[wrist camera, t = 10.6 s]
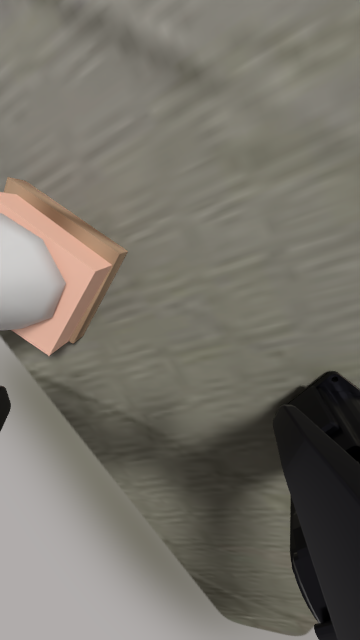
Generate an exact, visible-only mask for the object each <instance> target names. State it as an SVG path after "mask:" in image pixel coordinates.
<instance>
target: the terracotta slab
mask: <svg viewBox="0 0 360 640" xmlns="http://www.w3.org/2000/svg"><path fill="white" fill-rule="evenodd" d="M0 213H2V214H4V215H5V216H7V217H8V218H10V219H12V220H13V221H15V222H16V223H18V224H19V225H21V226H23V227H24V228H26V229H27V230H29V231H30V232H32V233H33V234H35V235H37V236H38V237H40V238H41V239H43V241H44V243H45V245H46V247H47V248H48V250H49V252H50V254H51V256H52V258H53V260H54V262H55V263H56V265H57V267H58V269H59V271H60V273H61V275H62V277H63V278H64V280H65V282H66V284H65V287H64V289H63V292H62V294H61V297H60V299H59V302H58V304H57V307H56V309H55V312H54V314H53V317H52V318H49V319H46V320H44V321H41V322H38V323H36V324H33V325H30V326H28V327H25V328H22V329H13V330H12V331H13V332H15V333H16V334H18V335H19V336H21V337H22V338H24V339H25V340H27V341H28V342H30V343H31V344H32V345H34V346H35V347H37V348H38V349H40V350H41V351H43V352H44V353H46V354H47V355H49V356H50V355H51V354H52V353H54V352H55V351H56V350H58V349H59V348H60V347H61V346H63V345H64V344H65V343H67V342H68V341H69V340H70V338H71V336H72V334H73V333H74V331H75V329H76V327H77V326H78V324H79V322H80V320H81V319H82V317H83V315H84V313H85V312H86V310H87V308H88V307H89V305H90V303H91V301H92V300H93V298H94V296H95V294H96V293H97V291H98V289H99V287H100V286H101V284H102V282H103V280H104V279H105V277H106V275H107V274H108V272H109V270H110V268H111V267H112V265H111V264H110V263H109V262H107V261H106V260H105V259H103V258H102V257H101V256H99V255H98V254H97V253H95V252H94V251H92V250H91V249H90V248H88V247H87V246H86V245H84V244H83V243H82V242H80V241H79V240H78V239H76V238H75V237H74V236H72V235H71V234H69V233H68V232H67V231H65V230H64V229H63V228H61V227H60V226H59V225H57V224H56V223H55V222H53V221H52V220H51V219H49V218H48V217H46V216H45V215H44V214H42V213H41V212H40V211H38V210H37V209H36V208H34V207H33V206H32V205H30V204H29V203H28V202H26V201H25V200H23V199H22V198H21V197H19V196H18V195H17V194H10V193H3V192H0Z"/></svg>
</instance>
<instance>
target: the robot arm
mask: <svg viewBox="0 0 360 640" xmlns="http://www.w3.org/2000/svg"><path fill="white" fill-rule="evenodd" d="M333 377H336V378H335V379H332V378H333ZM10 407H11V403H10V400H9V397H8V394H7V391H6V388H5V387H4V386H0V431H1V429H2V427H3V424H4V422H5V420H6V418H7V416H8V414H9V411H10ZM273 428H274V433H275V437H276V442H277V446H278V450H279V455H280V459H281V464H282V468H283V472H284V475H285V479H286V482H287V485H288V488H289V491H290V494H291V520H290V555H291V562H292V569H293V572H294V574H295V578H296V581H297V584H298V586H299V589H300V591H301V593H302V596H303V598H304V600H305V602H306V604H307V606H308V608H309V609H310V611H311V612H312V614H313V616H314V617H315V619H316V620H317V621H318V624H315V625H314V630H315V633H316V635H317V637H318V639H319V640H360V389H359V388H357V387H356V386H355V385H353V384H352V383H351V382H350V381H348V380H347V379H346V378H344V377H343V376H342V375H341V374H339V373H338V372H336V371H332V372H329V373H327V374H326V375H325V376H324V377H322V378H321V379H320V380H318V381H317V382H316V383H315V384H313V385H312V386H311V387H309V388H308V389H307V390H305V391H304V392H303V393H302V394H300V395H299V396H298V397H296V398H295V399H294V400H293V401H291V402H290V403H289V404H288V405H281V406H280V407H279V409H278V411H277V413H276V416H275V418H274V420H273Z"/></svg>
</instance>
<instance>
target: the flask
mask: <svg viewBox="0 0 360 640" xmlns="http://www.w3.org/2000/svg"><path fill="white" fill-rule="evenodd" d="M65 284H66V282H65V280H64V278H63V277H62V275H61V273H60V271H59V269H58V267H57V265H56V263H55V262H54V260H53V258H52V256H51V254H50V252H49V250H48V248H47V247H46V245H45V243H44V241H43V239H41V238H40V237H38V236H37V235H35V234H33V233H32V232H30V231H29V230H27V229H26V228H24V227H23V226H21V225H19V224H18V223H16V222H15V221H13V220H12V219H10V218H8V217H7V216H5V215H4V214H2V213H0V330H13V329H22V328H25V327H28V326H30V325H33V324H36V323H38V322H41V321H44V320H46V319H49V318H52V317H53V314H54V312H55V309H56V307H57V304H58V302H59V299H60V297H61V294H62V292H63V289H64V287H65Z"/></svg>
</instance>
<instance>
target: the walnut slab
mask: <svg viewBox="0 0 360 640" xmlns="http://www.w3.org/2000/svg"><path fill="white" fill-rule="evenodd" d="M4 193H10V194H17V195H18V196H19V197H21V198H22V199H23V200H25V201H26V202H28V203H29V204H30V205H32V206H33V207H34V208H36V209H37V210H38V211H40V212H41V213H42V214H44V215H45V216H46V217H48V218H49V219H51V220H52V221H53V222H55V223H56V224H57V225H59V226H60V227H61V228H63V229H64V230H65V231H67V232H68V233H69V234H71V235H72V236H74V237H75V238H76V239H78V240H79V241H80V242H82V243H83V244H84V245H86V246H87V247H88V248H90V249H91V250H92V251H94V252H95V253H97V254H98V255H99V256H101V257H102V258H103V259H105V260H106V261H107V262H109V263H110V264H111V265H112V267H111V268H110V270H109V272H108V274H107V275H106V277H105V279H104V280H103V282H102V284H101V286H100V287H99V289H98V291H97V293H96V294H95V296H94V298H93V300H92V301H91V303H90V305H89V307H88V308H87V310H86V312H85V313H84V315H83V317H82V319H81V320H80V322H79V324H78V326H77V327H76V329H75V331H74V333H73V334H72V336H71V338H70V340H69V342H71V343H73V344H74V343H75V342H76V341H77V340H79V339H80V338H81V337H82V336H83V335H84V333H85V331H86V329H87V328H88V326H89V324H90V322H91V320H92V318H93V316H94V314H95V313H96V311H97V309H98V307H99V305H100V303H101V301H102V299H103V297H104V296H105V294H106V292H107V290H108V288H109V286H110V284H111V282H112V281H113V279H114V277H115V275H116V273H117V271H118V269H119V267H120V265H121V264H122V262H123V260H124V258H125V256H126V254H127V252H128V251H127V250H125V249H124V248H122V247H121V246H119V245H118V244H116V243H115V242H113V241H112V240H111V239H109V238H108V237H106V236H105V235H103V234H102V233H100V232H99V231H97V230H96V229H95V228H93V227H92V226H90V225H89V224H87V223H86V222H84V221H83V220H81V219H80V218H79V217H77V216H76V215H74V214H73V213H71V212H70V211H68V210H67V209H65V208H64V207H63V206H61V205H60V204H58V203H57V202H55V201H54V200H52V199H51V198H49V197H48V196H47V195H45V194H44V193H42V192H41V191H39V190H38V189H36V188H35V187H33V186H32V185H31V184H29V183H28V182H26V181H23V180H19V179H14V178H9V177H8V178H7V182H6V185H5V189H4Z"/></svg>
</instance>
